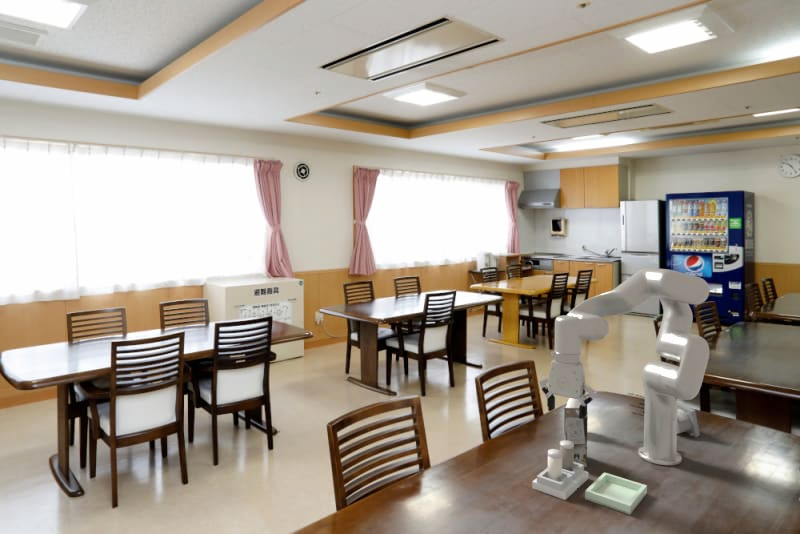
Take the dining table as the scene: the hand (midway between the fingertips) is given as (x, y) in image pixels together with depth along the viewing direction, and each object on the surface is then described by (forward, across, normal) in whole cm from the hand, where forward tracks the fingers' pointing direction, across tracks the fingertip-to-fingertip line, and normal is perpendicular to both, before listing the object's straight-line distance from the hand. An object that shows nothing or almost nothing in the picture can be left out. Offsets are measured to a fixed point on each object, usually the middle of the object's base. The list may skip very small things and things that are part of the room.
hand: (566, 413), depth 152 cm
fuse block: (+20, 0, -4) cm, 20 cm away
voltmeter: (+20, +10, +62) cm, 66 cm away
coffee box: (+20, -3, +13) cm, 24 cm away
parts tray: (+20, +15, -1) cm, 25 cm away
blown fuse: (+18, 0, 0) cm, 18 cm away
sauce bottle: (+20, -12, +35) cm, 42 cm away
